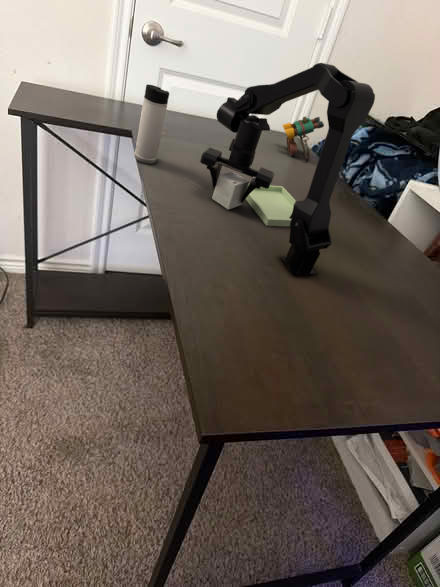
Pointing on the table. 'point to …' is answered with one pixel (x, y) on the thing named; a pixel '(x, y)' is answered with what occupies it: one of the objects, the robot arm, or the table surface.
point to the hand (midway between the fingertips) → (228, 197)
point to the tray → (272, 205)
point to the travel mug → (151, 124)
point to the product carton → (230, 189)
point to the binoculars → (301, 133)
